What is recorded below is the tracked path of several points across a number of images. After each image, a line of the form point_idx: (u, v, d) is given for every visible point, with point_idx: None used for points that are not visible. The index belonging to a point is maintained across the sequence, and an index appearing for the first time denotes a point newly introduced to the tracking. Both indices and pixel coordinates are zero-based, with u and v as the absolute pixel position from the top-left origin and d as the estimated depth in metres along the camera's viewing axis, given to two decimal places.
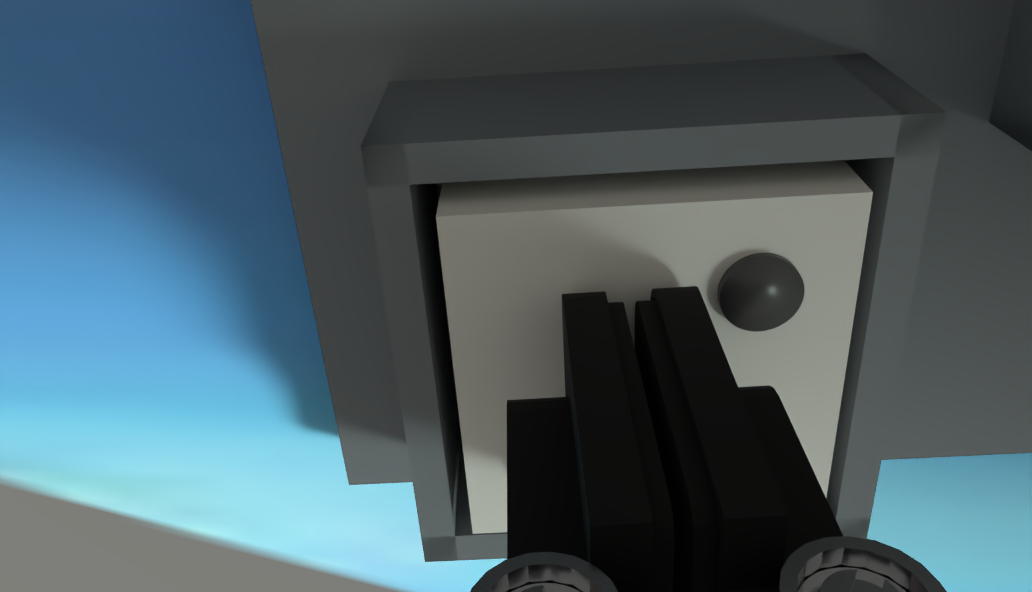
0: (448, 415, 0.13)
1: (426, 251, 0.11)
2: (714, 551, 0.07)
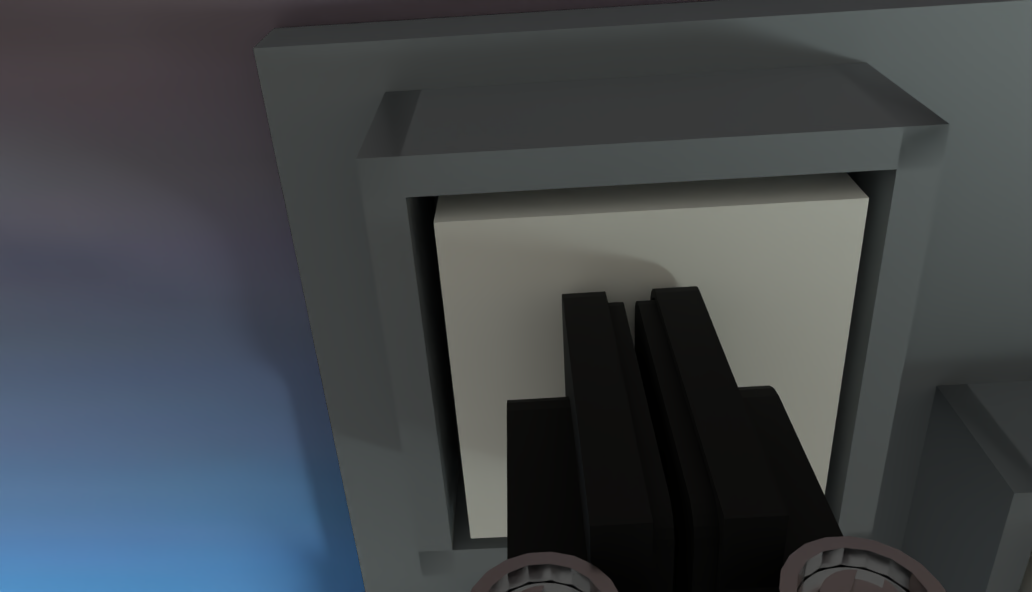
0: None
1: None
2: (713, 551, 0.07)
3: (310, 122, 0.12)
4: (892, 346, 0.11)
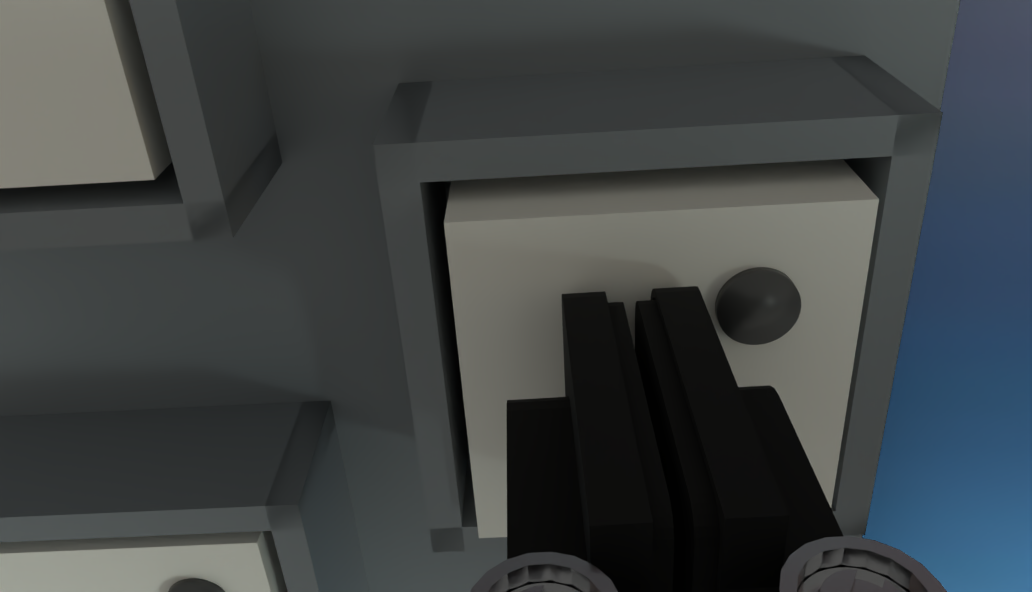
0: None
1: None
2: (714, 551, 0.07)
3: None
4: None
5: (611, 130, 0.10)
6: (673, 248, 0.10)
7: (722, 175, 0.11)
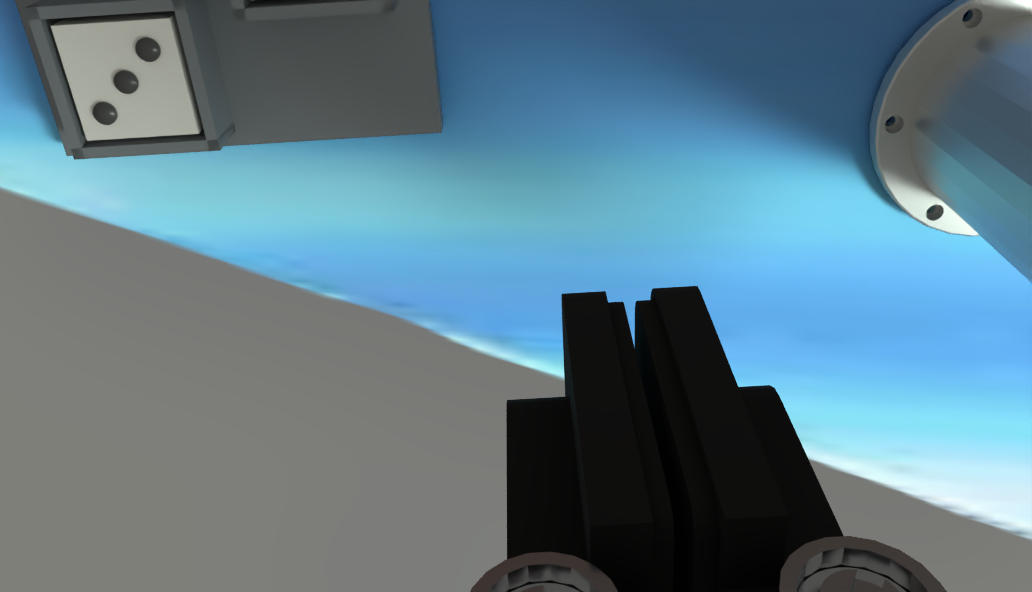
0: None
1: None
2: (714, 551, 0.07)
3: None
4: None
5: None
6: None
7: None
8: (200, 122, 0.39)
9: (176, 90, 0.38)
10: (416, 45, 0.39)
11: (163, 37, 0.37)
